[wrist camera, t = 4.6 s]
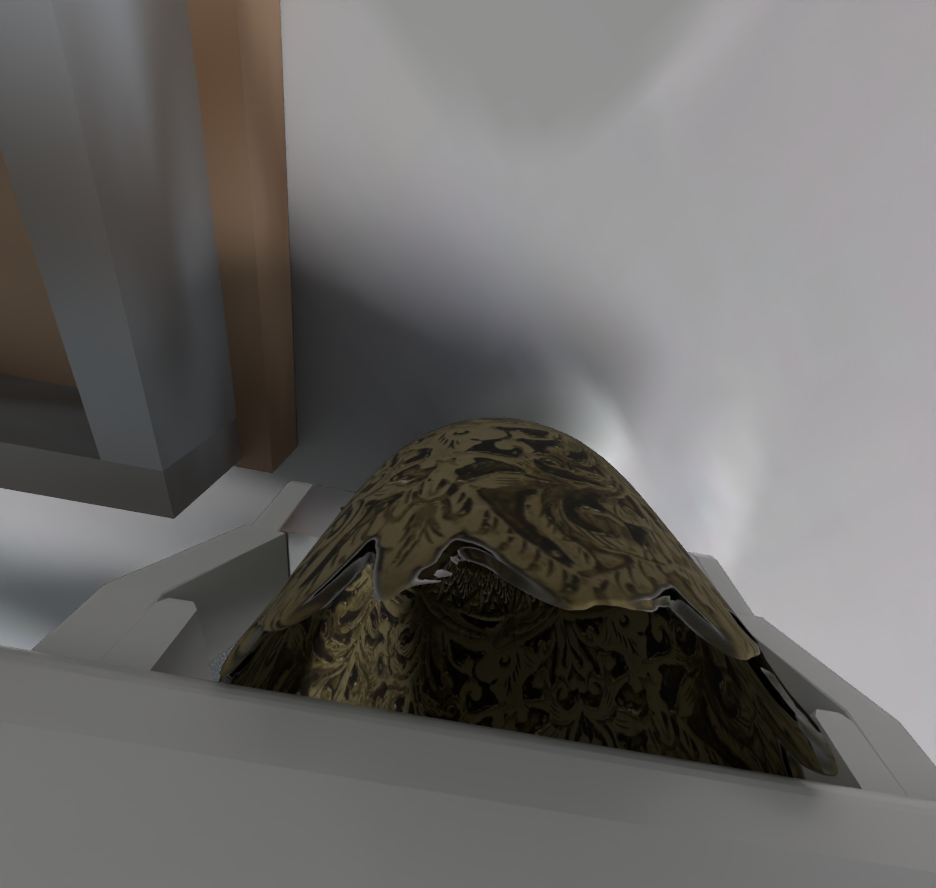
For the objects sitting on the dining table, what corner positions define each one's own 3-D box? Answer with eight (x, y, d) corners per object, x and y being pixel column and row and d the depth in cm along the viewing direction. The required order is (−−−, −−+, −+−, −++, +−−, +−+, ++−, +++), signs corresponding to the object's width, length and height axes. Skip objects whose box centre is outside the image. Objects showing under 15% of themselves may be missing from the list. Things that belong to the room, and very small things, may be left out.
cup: (322, 446, 12) (70, 756, 5) (524, 281, 9) (604, 433, 2) (476, 589, 14) (456, 932, 7) (669, 490, 12) (919, 868, 5)
